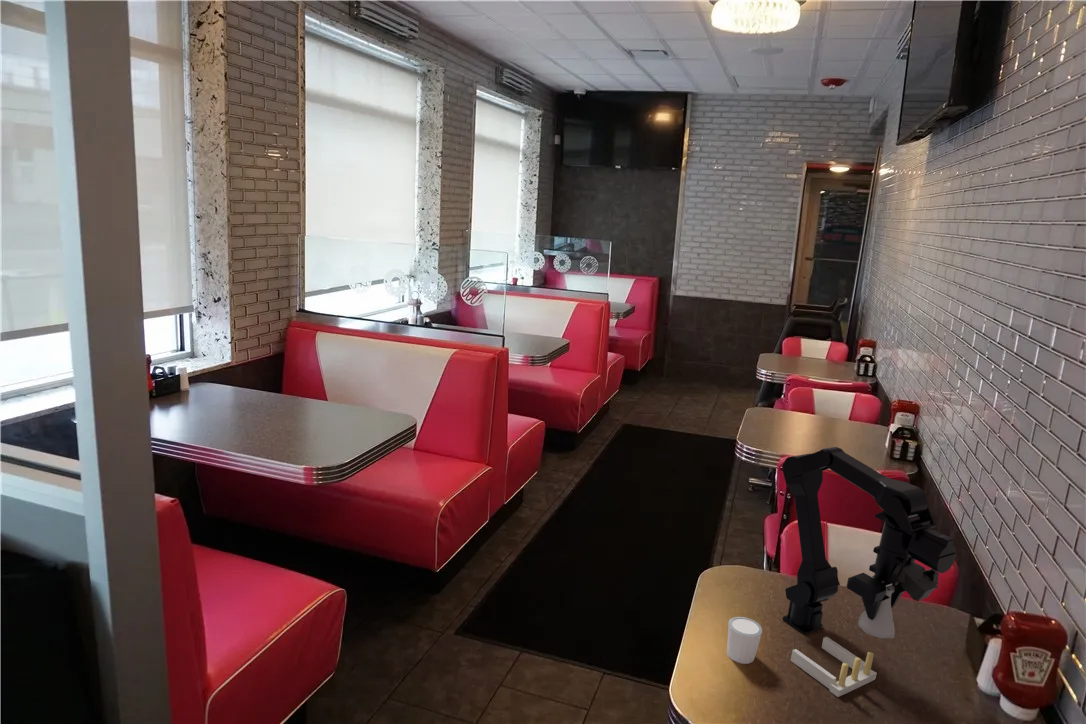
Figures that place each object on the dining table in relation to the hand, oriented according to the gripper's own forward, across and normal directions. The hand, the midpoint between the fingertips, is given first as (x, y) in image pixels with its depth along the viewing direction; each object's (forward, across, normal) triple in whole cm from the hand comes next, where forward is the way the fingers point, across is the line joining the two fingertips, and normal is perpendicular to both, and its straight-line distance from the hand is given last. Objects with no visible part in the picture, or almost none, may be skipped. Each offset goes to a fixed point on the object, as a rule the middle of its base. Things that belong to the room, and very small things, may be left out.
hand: (878, 615), depth 148 cm
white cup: (+13, -21, +15) cm, 29 cm away
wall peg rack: (+13, -7, +3) cm, 15 cm away
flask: (+3, 0, 0) cm, 3 cm away
